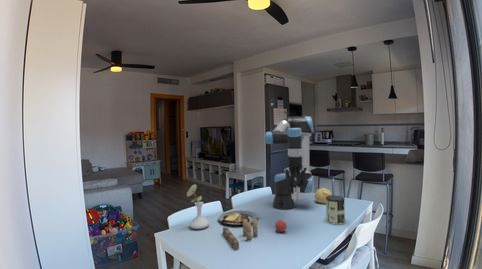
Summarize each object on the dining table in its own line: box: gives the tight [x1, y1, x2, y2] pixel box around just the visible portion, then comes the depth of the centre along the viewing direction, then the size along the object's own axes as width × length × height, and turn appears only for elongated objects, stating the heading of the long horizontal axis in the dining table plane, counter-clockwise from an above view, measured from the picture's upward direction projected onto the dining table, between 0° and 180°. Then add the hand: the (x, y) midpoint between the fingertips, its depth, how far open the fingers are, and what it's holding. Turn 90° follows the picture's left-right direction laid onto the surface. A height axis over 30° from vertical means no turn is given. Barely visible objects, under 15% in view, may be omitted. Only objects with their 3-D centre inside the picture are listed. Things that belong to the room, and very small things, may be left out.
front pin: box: [252, 218, 259, 238], centre depth 131 cm, size 2×2×8 cm
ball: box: [274, 219, 287, 233], centre depth 136 cm, size 6×6×6 cm
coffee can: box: [325, 194, 346, 225], centre depth 149 cm, size 10×10×14 cm
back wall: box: [222, 226, 240, 251], centre depth 126 cm, size 20×2×4 cm, turn 20°
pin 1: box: [242, 219, 247, 238], centre depth 132 cm, size 2×2×8 cm
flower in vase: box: [186, 184, 211, 230], centre depth 145 cm, size 13×11×25 cm
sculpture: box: [314, 187, 333, 205], centre depth 186 cm, size 11×12×11 cm
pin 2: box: [246, 221, 252, 242], centre depth 127 cm, size 2×2×8 cm
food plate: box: [217, 210, 260, 226], centre depth 155 cm, size 25×23×4 cm
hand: (295, 198), depth 139 cm, fingers open, 2 cm apart
